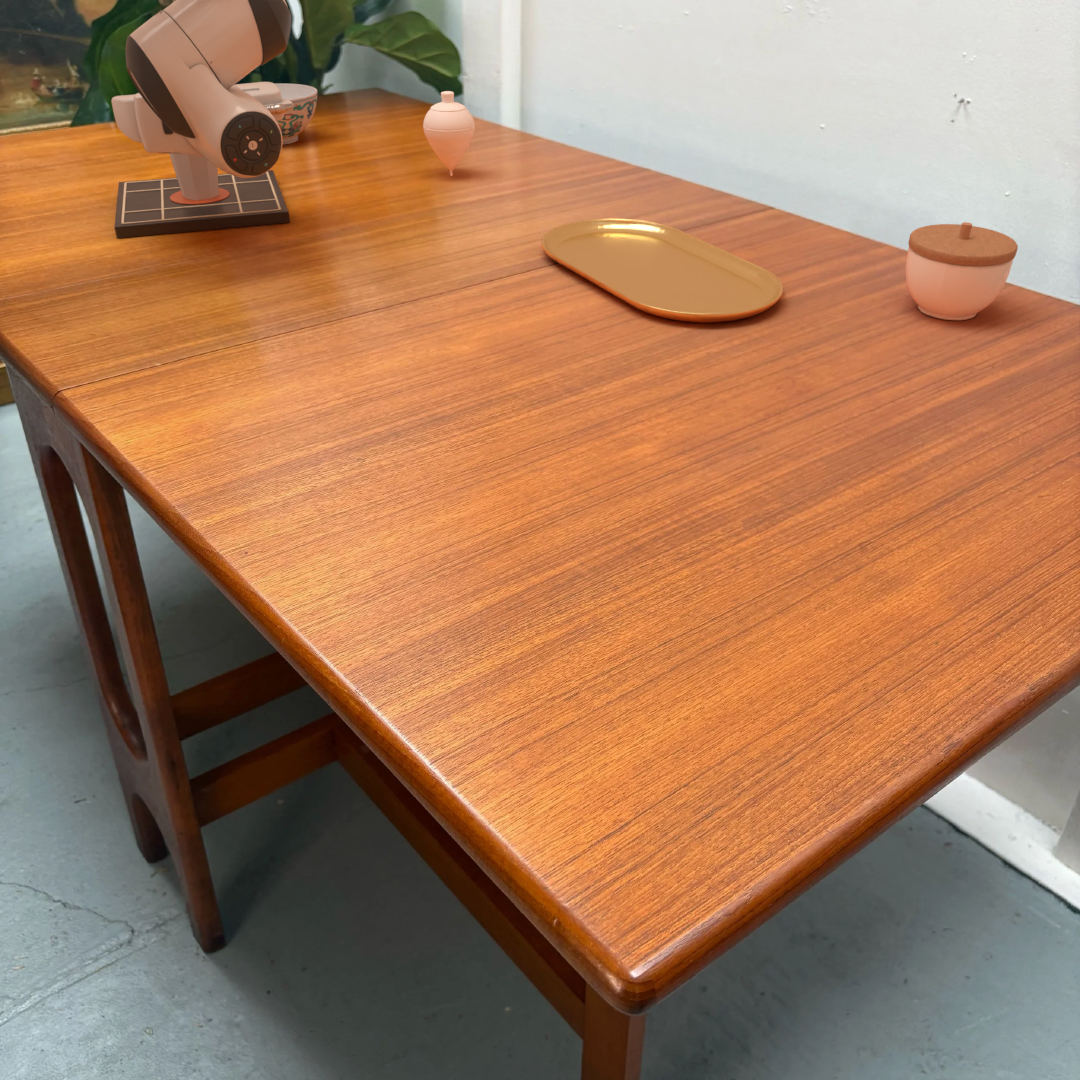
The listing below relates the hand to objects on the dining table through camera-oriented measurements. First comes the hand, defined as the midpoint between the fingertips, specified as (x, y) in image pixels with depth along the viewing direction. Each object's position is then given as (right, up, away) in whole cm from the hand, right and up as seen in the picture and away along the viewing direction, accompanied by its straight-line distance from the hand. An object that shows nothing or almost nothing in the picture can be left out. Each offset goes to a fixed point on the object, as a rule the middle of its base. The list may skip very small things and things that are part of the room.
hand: (186, 96), depth 132 cm
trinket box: (+90, -32, -21) cm, 98 cm away
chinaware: (+1, +11, +43) cm, 44 cm away
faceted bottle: (-1, -10, +10) cm, 14 cm away
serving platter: (+59, -26, -11) cm, 66 cm away
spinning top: (+32, -2, +24) cm, 40 cm away
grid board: (-2, -11, +11) cm, 15 cm away
